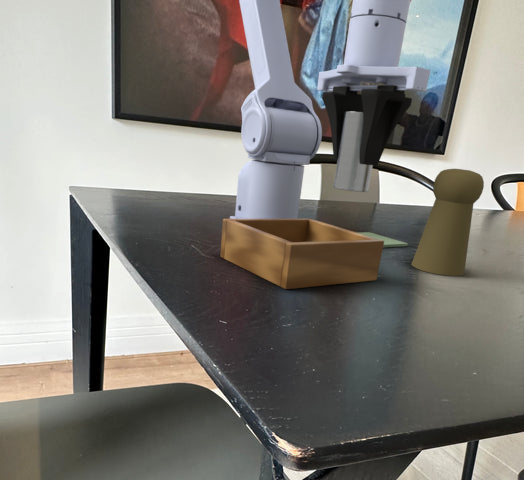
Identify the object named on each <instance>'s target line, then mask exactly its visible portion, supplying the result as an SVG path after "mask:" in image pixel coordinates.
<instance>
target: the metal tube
mask: <svg viewBox="0 0 524 480" xmlns="http://www.w3.org/2000/svg"><path fill="white" fill-rule="evenodd" d="M363 124H364V118H363V112H352V111H346V112H345V114H344V121H343V128H342V134H341V141H340V148H339V154H338V161H337V160H336V161H337V162H336V169H335V174H334V181H333V188H334V189H337V190H341V191H348V192H355V193H356V192H358V193H368V192H369V188H370V183H371V177H372V171H373V166H374V165H364V164H361V160H360V154H361V145H362V137H363Z"/></svg>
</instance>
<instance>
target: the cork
mask: <svg viewBox="0 0 524 480" xmlns="http://www.w3.org/2000/svg"><path fill="white" fill-rule="evenodd" d="M484 185H485V181H484V178H483V176H482V175H481V174H480V173H478V172H476V171H473V170H471V169H462V168H448V169H444V170H441V171H440V172H439V173H438V174H437V175H436V177H435V178H434V181H433V186H432V191H433V195H434V197H435V200H434V201H433V205H432V207H431V210H430V214H429V216H428V219H427V221H426V224H425V226H424V229H423V233H422V235H421V237H420V240H419V242H418V245H417V249H416V250H415V253H414V256H413V260H412V262H411V266H412V267H413V268H415V269H417V270H420V271H422V272H426V273H431V274H435V275H440V276H450V277H453V276H454V277H459V276H463V275H465V271H466V264H467V257H468V256H467V255H468V248H469V241H470V234H471V233H470V232H471V226H472V219H473V211H474V204H475V203H476V202H477V201H478V200H479V199H480V198H481V196H482V194H483V192H484V188H485V186H484Z"/></svg>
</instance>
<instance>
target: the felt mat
mask: <svg viewBox="0 0 524 480" xmlns="http://www.w3.org/2000/svg"><path fill="white" fill-rule="evenodd" d="M358 233H360V234H363V235H366V236H369V237H373V238H376V239H379V240H383V241H384V245H383V249H384V248H399V247H408V246H409V243H407V242H405V241H401V240H398V239H394V238H390V237H387V236H384V235H380V234H377V233H374V232H370V231H364V232H362V231H361V232H358Z"/></svg>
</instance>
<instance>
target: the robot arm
mask: <svg viewBox="0 0 524 480" xmlns="http://www.w3.org/2000/svg"><path fill="white" fill-rule="evenodd" d="M238 2H239V7H240V12H241V18H242V24H243V29H244V34H245V41H246V46H247V52H248V57H249V63H250V68H251V73H252V80H253V84H254V89H253V90H252V91H251V92H250V93H249V94H248V95H247V96H246V98H245V99H244V101H243V103H242V105H241V107H240V112H241V129H240V131H241V132H240V136H241V142H242V145H243V147H244V150H245V152H246V153H247V154H248V155H247V159H249V160H248V161H246V162H245V164H243V165H242V167H241V168H240V170H239V173H238V176H237V186H236V200H235V211H234V215H230V216H229V219H282V218H299V210H300V204H301V195H302V189H303V181H304V173H305V165H306V166H309V165H310V161H311V160H312V159H313V158H314V157H315V156H316V154H317V153H318V151H319V149H320V147H321V143H322V137H323V128H322V123H321V120H320V118H319V116H318V115H317V113H316V112H315V110H314V106H313V101H312V99H311V98H310V97H309V95H308V94H307V93H306V92H305V91H304V90H302V89H301V88H300V87H299V86H298V85H297V83H296V82H295V78H294V72H293V66H292V60H291V56H290V51H289V44H288V40H287V34H286V28H285V23H284V17H283V11H282V6H281V1H280V0H238ZM410 5H411V0H352V4H351V11H350V18H349V25H348V32H347V39H346V45H345V53H344V59H343V64H338V65H337V66H336V68H335V69H330V70H326V71H319V72H318V77H317V78H318V80H317V87H316V91H320V92H322V97H321V100H322V103H323V104H324V107H325V109H326V110H325V111H326V113H327V118H328V122H329V126H330V133H331V141H332V144H331V145H332V155H333V156H332V157H333V160H334V161H338V154H339V148H340V141H341V134H342V128H343V121H344V114H345V112H346V111H352V112H363V118H364V124H363V137H362V145H361V154H360V160H361V164H364V165H373V166H377V167H378V166H379V164H380V161H381V158H382V155H383V153H384V151H385V149H386V146H387V144H388V142H389V140H390V138H391V135H392V134H393V132H394V130H395V128H396V127H397V125H398V124H399V122H400V121H401V119H402V118H403V116H404V115H405V114H406V112H407V111H408V110H409V109H410V108H411V106H412V101H413V98H411V97H407V96H406V92H415V93H426V92H427V90H428V89H427V87H428V83H429V79H430V74H431V69H429V68H424V67H422V66H421V67H420V66H399V65H400V59H401V55H402V54H401V53H402V50H403V49H402V48H403V42H404V38H405V37H404V36H405V31H406V25H407V20H408V15H409V10H410ZM361 84H365V85H361ZM368 84H369V85H368ZM358 92H360V93H358ZM250 159H251V160H250Z"/></svg>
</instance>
